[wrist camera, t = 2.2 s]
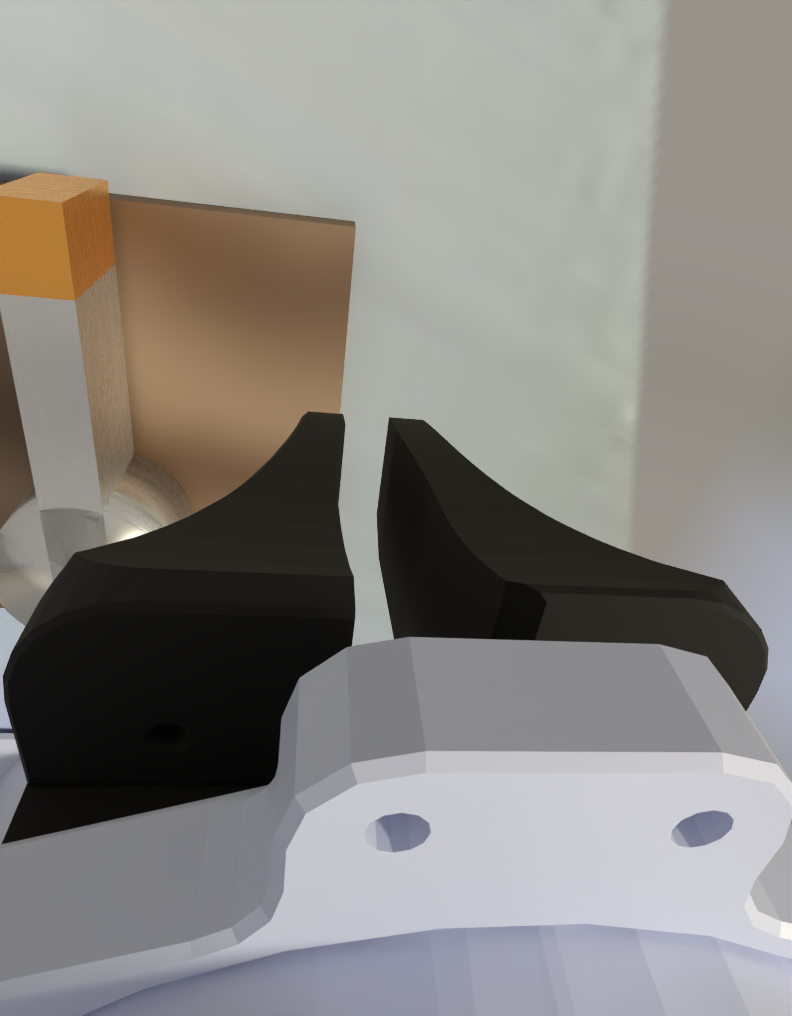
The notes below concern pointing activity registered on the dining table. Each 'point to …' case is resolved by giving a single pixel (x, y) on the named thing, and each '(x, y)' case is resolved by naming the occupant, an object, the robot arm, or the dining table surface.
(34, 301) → the orange and grey bar
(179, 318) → the brown flat board
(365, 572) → the dining table surface
